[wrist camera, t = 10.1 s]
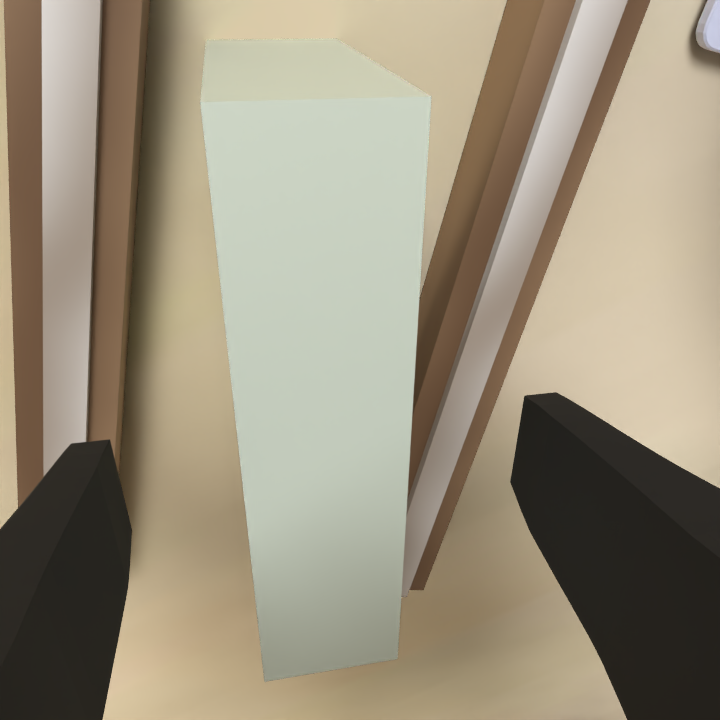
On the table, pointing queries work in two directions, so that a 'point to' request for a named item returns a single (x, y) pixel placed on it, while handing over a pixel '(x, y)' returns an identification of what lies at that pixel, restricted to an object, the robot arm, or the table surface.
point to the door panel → (319, 331)
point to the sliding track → (445, 274)
